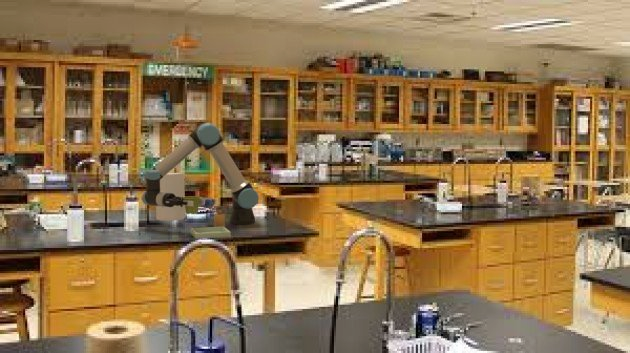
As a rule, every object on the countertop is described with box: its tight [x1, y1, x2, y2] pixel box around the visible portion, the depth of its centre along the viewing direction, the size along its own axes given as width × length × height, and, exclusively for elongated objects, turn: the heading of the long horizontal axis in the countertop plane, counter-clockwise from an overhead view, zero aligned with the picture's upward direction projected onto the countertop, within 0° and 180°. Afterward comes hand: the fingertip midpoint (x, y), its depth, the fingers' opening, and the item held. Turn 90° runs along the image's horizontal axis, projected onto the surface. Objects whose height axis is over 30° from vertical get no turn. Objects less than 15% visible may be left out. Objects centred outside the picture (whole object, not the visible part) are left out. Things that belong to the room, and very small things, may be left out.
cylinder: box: [155, 172, 186, 222], centre depth 420 cm, size 17×17×28 cm
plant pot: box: [183, 195, 202, 215], centre depth 364 cm, size 9×9×9 cm
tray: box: [189, 226, 232, 241], centre depth 364 cm, size 18×18×3 cm
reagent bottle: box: [213, 205, 226, 228], centre depth 380 cm, size 6×6×13 cm
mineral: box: [199, 196, 216, 210], centre depth 445 cm, size 14×10×10 cm, turn 119°
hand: (198, 202), depth 361 cm, fingers closed on plant pot, 8 cm apart
